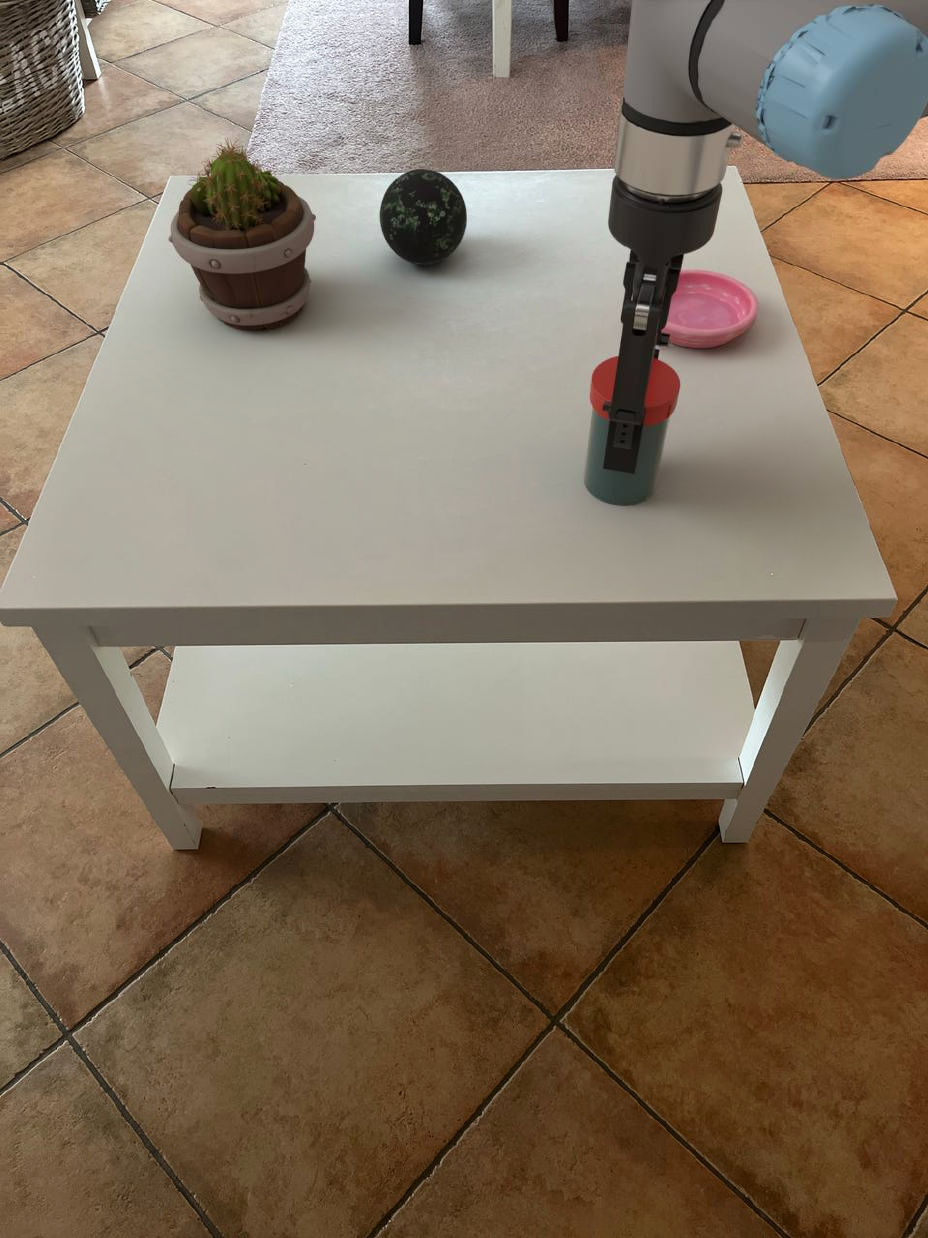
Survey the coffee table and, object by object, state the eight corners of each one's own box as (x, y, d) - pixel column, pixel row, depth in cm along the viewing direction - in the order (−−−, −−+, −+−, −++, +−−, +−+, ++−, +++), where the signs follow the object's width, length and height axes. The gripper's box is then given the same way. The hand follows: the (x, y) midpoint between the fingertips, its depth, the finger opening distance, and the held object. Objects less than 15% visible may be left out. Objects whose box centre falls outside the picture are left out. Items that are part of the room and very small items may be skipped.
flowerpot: (192, 279, 106) (142, 94, 91) (323, 265, 108) (297, 82, 92) (189, 352, 97) (133, 161, 82) (332, 336, 99) (305, 146, 83)
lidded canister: (670, 480, 84) (691, 384, 76) (625, 516, 81) (641, 421, 73) (614, 446, 87) (629, 351, 79) (569, 480, 84) (578, 385, 76)
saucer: (644, 286, 104) (648, 260, 102) (755, 300, 102) (762, 274, 100) (628, 349, 97) (632, 323, 94) (748, 365, 95) (755, 339, 92)
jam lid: (694, 398, 77) (699, 380, 75) (640, 439, 74) (644, 420, 72) (626, 362, 80) (629, 343, 79) (571, 399, 77) (573, 380, 75)
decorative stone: (482, 266, 107) (482, 181, 100) (406, 290, 104) (400, 204, 97) (443, 228, 113) (440, 145, 105) (369, 250, 110) (361, 165, 102)
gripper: (709, 260, 56) (653, 525, 73) (736, 120, 68) (682, 377, 86) (587, 245, 57) (561, 509, 75) (635, 110, 69) (603, 365, 87)
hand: (626, 438), depth 80 cm, fingers closed on jam lid, 7 cm apart
